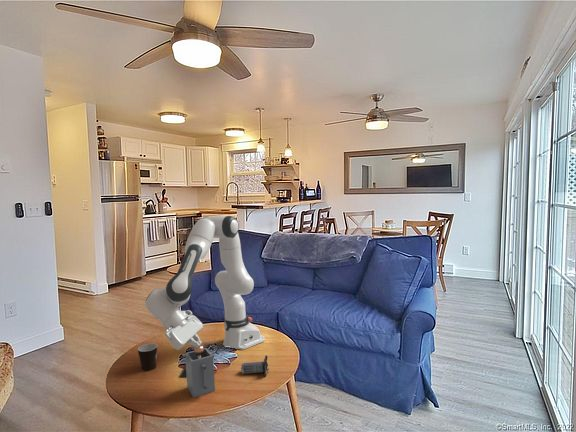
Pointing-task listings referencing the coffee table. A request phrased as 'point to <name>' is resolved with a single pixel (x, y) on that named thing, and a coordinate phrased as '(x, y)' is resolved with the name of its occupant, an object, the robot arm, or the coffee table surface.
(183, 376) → the phone
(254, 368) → the beverage can
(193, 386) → the box
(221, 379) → the coffee table surface
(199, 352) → the ball-topped press plunger
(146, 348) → the coffee mug
